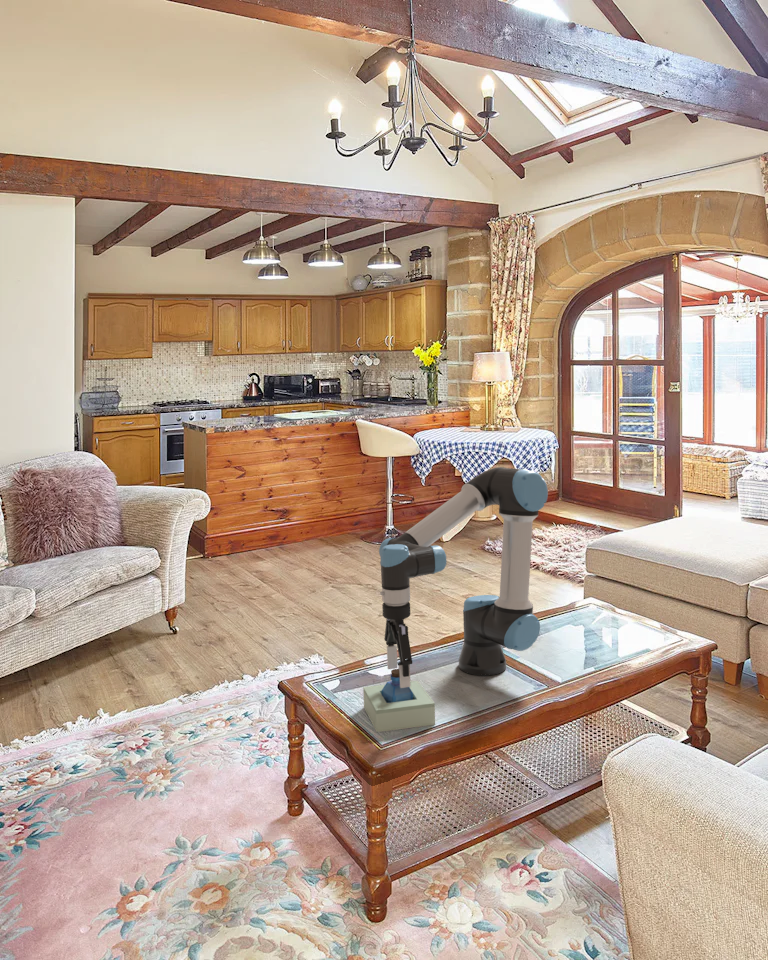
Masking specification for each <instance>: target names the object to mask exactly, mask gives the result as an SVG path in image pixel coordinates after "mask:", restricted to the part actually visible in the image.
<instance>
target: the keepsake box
mask: <svg viewBox="0 0 768 960" xmlns="http://www.w3.org/2000/svg"><path fill="white" fill-rule="evenodd" d="M410 683H411V687H409V688H410V689H411V691H412V692H413V700H407V701H399V702H391V703H386V701H385V699H384V698H383V696H382V689H383V688H384V686H385V685H386V684H380V685H372V686H371V685H370V686H363V688H362V689H363V690H362V691H363V708H365V709H364V711H365V712H366V714H367V716H368V718H369V720H370V722H371V723H372V726H373V728H374V730H375V731H376V732H375V733H381V732H390V731H396V730H405V729H411V728H419V727H421V728H422V727H428V726H435V725H436V713H435V712H436V711H435V710H436V708H435V707H436V706H435V705H436V703H435V701H434V700H433V699H432V698H431V696H430V695H429V694H428V692H427V691H426V689H425V687H423V686H422V684H421V683H420V682H419V680H414V681H413V680H411V681H410Z"/></svg>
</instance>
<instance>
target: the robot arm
mask: <svg viewBox="0 0 768 960" xmlns="http://www.w3.org/2000/svg"><path fill="white" fill-rule="evenodd" d="M548 491H549V490H548V485H547V483H546V480H545V479H544V477H542V475H541V474H540V473H538V472H536V471H533V470H528V469H525V468H523V469H521V468H512V467H511V468H510V467H503V466H498V467H492V468H490V469H488V470H486V471H483V472H481V473H480V474H478V475H476V476H474V477H473V478H471V479H470V480H468V481H467V482H466V483H465V484H463V485H462V487H461V489H460V492H458V493H456V494H455V495H453V497H451V498H449V499H448V500H447V501H445V502H444V503H443V504H441V505H440V506H439V507H438V508H436V509H435V510H433V511H432V512H431V513H429V514H428V515H426V516H425V517H423V519H421V520H420V521H418V523H415V524H414V525H413V526H412V527H410V528H409V529H408V530H407V531H405V532H404V533H402V534H401V535H400V536H398V537H397V538H395V537H389V538H386V539H384V540H383V541H382V542H381V543H380V545H379V550H378V552H379V556H380V563H379V564H380V576H381V577H380V578H381V590H382V591H380V592H379V595H380V596H381V597H382V602H383V603H382V616H383V618H384V619H385V631H384V641H385V643H386V662H387V670H394V669H398V668H399V671H400V688H405V687H411V683H410V682H411V665H412V664H413V657H412V650H411V643H410V639H409V638H410V637H409V627H408V625H407V624H406V623H405V622H404V620H406V619H407V618H409V617H410V616H411V603H410V601H411V586H410V583H411V582H410V579H412V578H417V577H422V576H428V575H435V574H436V573H439V572H442V571H444V569H445V568H446V566H447V562H448V561H447V555H446V551H445V549H443V547H441V546H440V545H432V544H434V543H435V542H436V541H438V540H439V539H441V538H442V537H443V536H445V535H446V534H447V533H448V532H449V531H451V530H453V529H454V528H455V527H456V526H458V525H459V524H460V523H461V522H463V521H464V520H466V519H467V518H468V517H470V516H471V515H472V514H473V513H475V512H476V511H477V512H481V511H483V510H484V509H486V508H487V507H489V506H493V505H495V506H499V507H498V514H499V515H500V516H501V518H502V519H503V526H502V527H503V528H502V543H501V548H502V549H501V560H500V562H501V563H500V564H501V565H500V566H501V567H500V584H499V595H494V594H482V595H474V596H470V597H468V598H466V599H465V600H464V603H463V610H462V612H463V616H462V617H463V645H462V647H461V652H460V654H459V658H458V668H459V670H461V671H462V672H463V673H467V674H468V675H474V676H495V675H498V674H502V673H503V672H505V671H506V669H507V660H506V656H505V654H504V650H503V648H502V646H503V647H505V648H506V649H509V650H513V651H516V652H524V651H525V650H528V649H530V648H531V647H532V646H533V644H534V643H536V642H537V639H538V638H539V635H540V631H541V623H540V620H539V619H538V617H537V616H536V615H535V614H534V605H533V603H532V602H531V601H530V600H529V597H530V596H529V595H530V594H529V593H530V577H531V574H530V573H531V572H530V571H531V559H532V558H531V557H532V555H531V553H532V543H533V541H532V540H533V539H532V537H533V521H534V520H535V519H536V518H538V517H539V511H541V510H542V509H543V507H545V504H546V503H547V501H548V496H549V492H548ZM398 657H399V662H398ZM398 666H399V667H398ZM504 670H505V671H504Z"/></svg>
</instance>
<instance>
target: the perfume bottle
mask: <svg viewBox="0 0 768 960" xmlns="http://www.w3.org/2000/svg"><path fill="white" fill-rule="evenodd" d="M390 670H391V671H390V681H387V682H386V683H385V684H384V685H385V686H384V688H383V689H382V696H383V698H384V699H385V701H386V703H391V702H399V701H407V700H413V692H412V691H411V689H410V688H409V687H405V688H400V671H399V669H398V668H395V669H390Z"/></svg>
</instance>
